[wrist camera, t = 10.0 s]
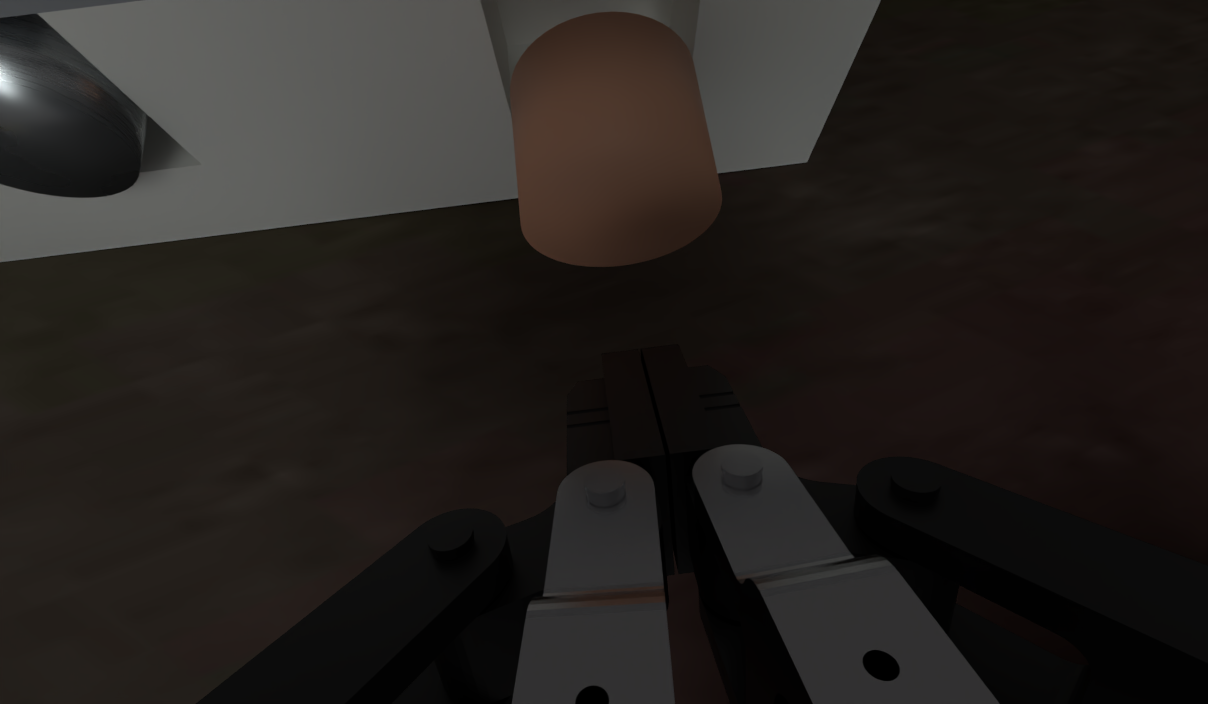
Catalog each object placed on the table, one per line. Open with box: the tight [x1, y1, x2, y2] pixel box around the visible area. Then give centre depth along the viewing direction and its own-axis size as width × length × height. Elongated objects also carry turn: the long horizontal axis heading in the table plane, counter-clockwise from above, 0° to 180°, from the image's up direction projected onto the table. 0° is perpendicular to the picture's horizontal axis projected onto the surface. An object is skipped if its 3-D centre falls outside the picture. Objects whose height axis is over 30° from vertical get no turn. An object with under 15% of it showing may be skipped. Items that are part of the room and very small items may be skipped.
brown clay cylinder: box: [510, 12, 722, 267], centre depth 14 cm, size 4×4×4 cm
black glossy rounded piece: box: [0, 13, 149, 198], centre depth 15 cm, size 4×4×4 cm
